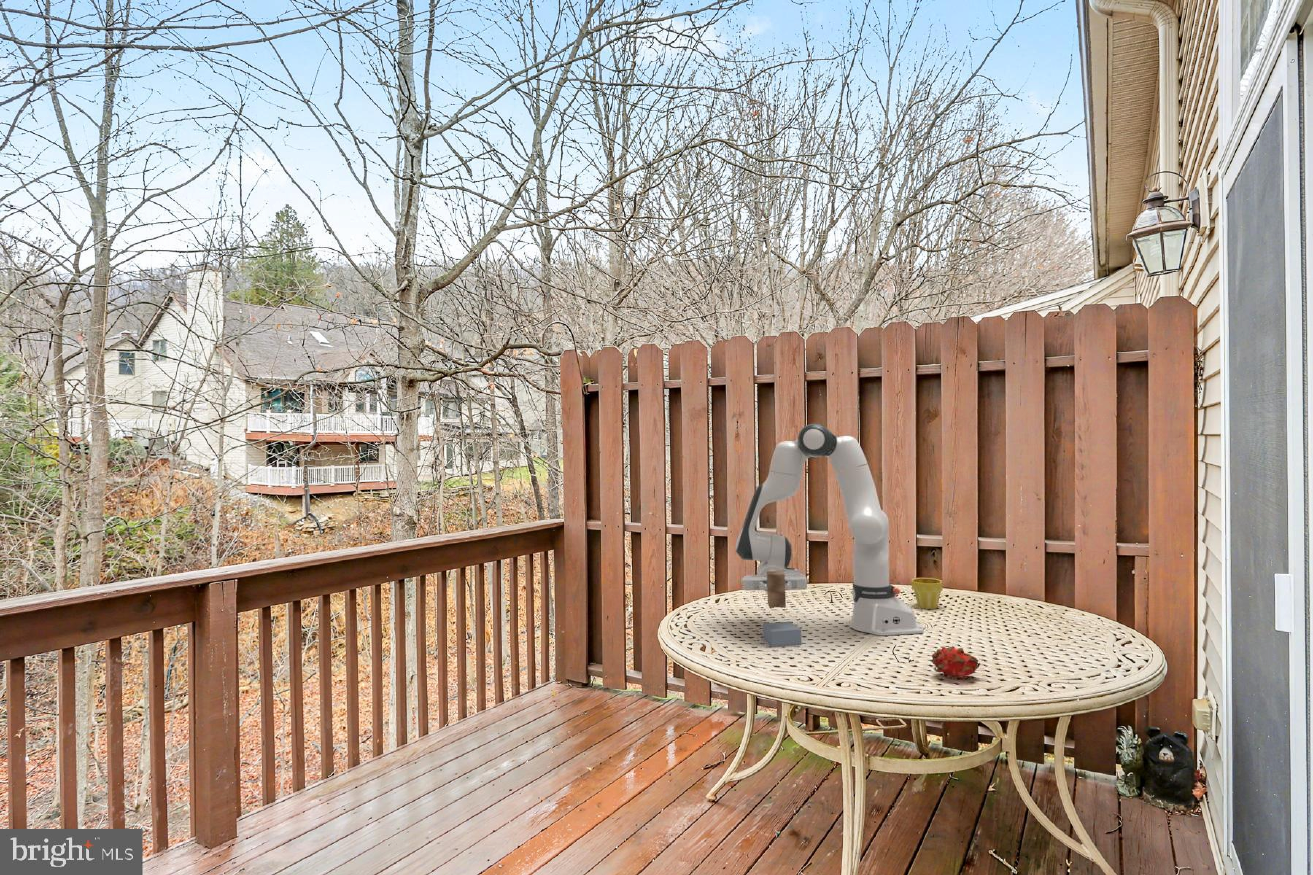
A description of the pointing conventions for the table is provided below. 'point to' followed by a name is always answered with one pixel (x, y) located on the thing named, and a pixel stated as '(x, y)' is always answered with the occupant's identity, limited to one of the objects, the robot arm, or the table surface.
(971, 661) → the dragon fruit
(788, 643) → the slate block
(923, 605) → the plant pot
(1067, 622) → the table surface
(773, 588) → the walnut block
